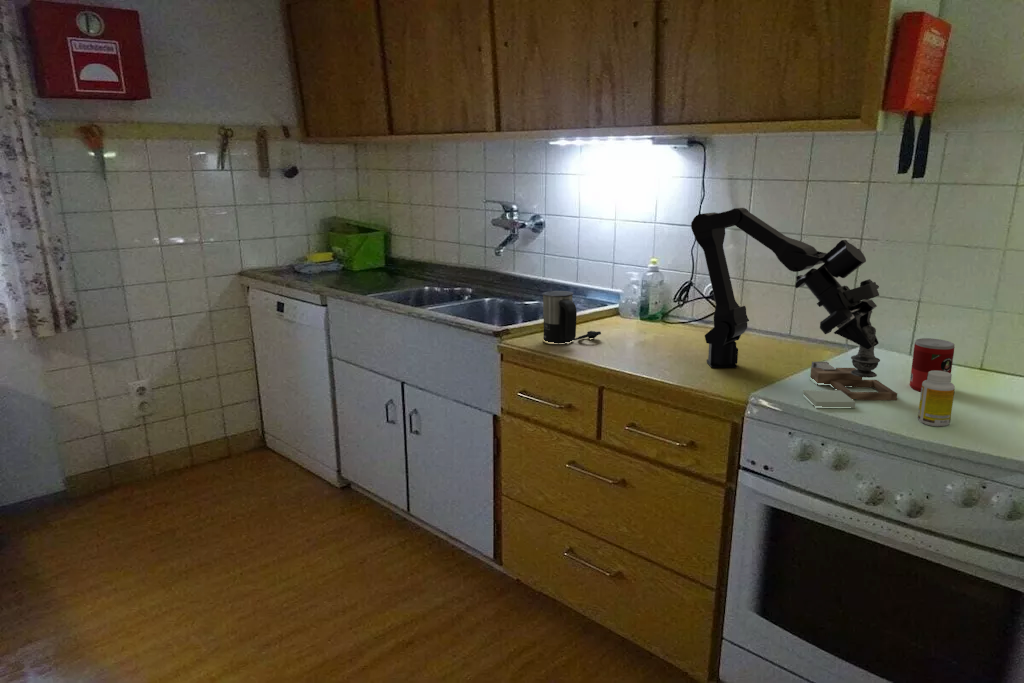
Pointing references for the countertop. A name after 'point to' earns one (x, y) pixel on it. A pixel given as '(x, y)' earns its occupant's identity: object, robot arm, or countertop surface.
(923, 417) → the supplement bottle
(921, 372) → the canned food
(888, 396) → the brown wooden tray
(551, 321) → the milk frother
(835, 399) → the grey square slab
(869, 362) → the dark grey tall figure
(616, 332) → the countertop surface
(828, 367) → the key bar
